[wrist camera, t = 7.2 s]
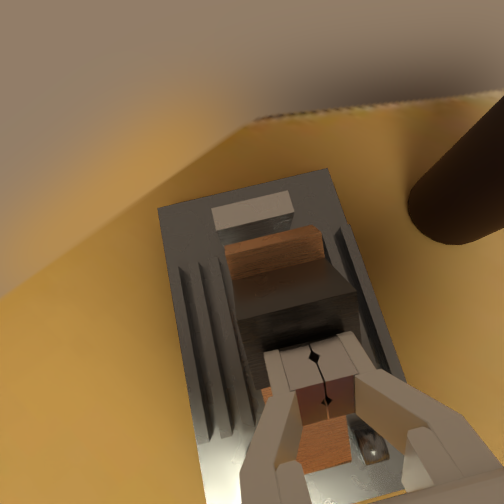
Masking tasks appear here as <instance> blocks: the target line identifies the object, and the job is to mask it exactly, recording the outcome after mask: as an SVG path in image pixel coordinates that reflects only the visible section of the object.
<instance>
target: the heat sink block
mask: <svg viewBox="0 0 504 504" xmlns="http://www.w3.org/2000/svg"><path fill="white" fill-rule="evenodd" d="M157 209H158V215H159V221H160V227H161V233H162V239H163V245H164V251H165V257H166V263H167V269H168V275H169V281H170V287H171V293H172V299H173V305H174V311H175V317H176V323H177V329H178V335H179V341H180V347H181V353H182V359H183V365H184V371H185V377H186V383H187V389H188V395H189V401H190V407H191V413H192V419H193V425H194V431H195V437H196V443H197V449H198V455H199V461H200V467H201V473H202V479H203V485H204V491H205V497H206V503H207V504H242V503H241V491H240V479H239V472H240V469H241V466H242V464H243V461H244V459H245V456H246V454H247V451H248V448H249V446H250V443H251V441H252V438H253V436H254V433H255V430H256V428H257V425H258V423H259V420H260V418H261V415H262V412H263V410H264V407H265V402H264V399H263V395H262V391H261V389H260V390H256V389H255V385H254V382H253V378H252V375H251V371H250V367H249V364H248V360H247V356H246V353H245V349H244V346H243V342H242V338H241V335H240V331H239V327H238V324H237V319H236V311H235V302H234V294H233V285H232V279H231V275H230V271H229V268H228V264H227V260H226V256H225V247H224V246H226V245H230V244H234V243H238V242H242V241H246V240H251V239H255V238H259V237H263V236H267V235H271V234H275V233H279V232H284V231H288V230H292V229H296V228H300V227H304V226H308V225H313V226H315V227H316V228H317V229H318V230H319V231H321V233H322V241H323V248H324V256H325V258H326V259H327V261H328V262H329V263H330V264H331V265H332V266H333V267H334V268H335V269H336V270H337V271H338V272H339V273H340V274H341V275H342V276H343V277H344V278H345V279H346V280H347V281H348V282H349V283H350V284H351V285H352V286H353V287H354V288H355V289H356V291H357V299H358V309H359V320H360V330H361V341H362V348H363V349H364V351H365V352H366V354H367V355H368V357H369V359H370V360H371V362H372V363H373V365H374V367H375V368H376V370H377V369H382V370H384V371H386V372H388V373H389V374H391V375H393V376H395V377H396V378H398V379H400V380H402V381H403V382H405V383H407V382H406V379H405V376H404V373H403V370H402V368H401V365H400V362H399V359H398V357H397V354H396V351H395V348H394V346H393V343H392V340H391V337H390V334H389V332H388V329H387V326H386V323H385V321H384V318H383V315H382V312H381V310H380V307H379V304H378V301H377V298H376V296H375V293H374V290H373V287H372V285H371V282H370V279H369V276H368V274H367V271H366V268H365V265H364V262H363V260H362V257H361V254H360V251H359V249H358V246H357V243H356V240H355V237H354V235H353V232H352V229H351V226H350V224H349V225H348V224H347V221H346V218H345V215H344V213H343V210H342V207H341V204H340V201H339V199H338V196H337V193H336V190H335V188H334V185H333V182H332V179H331V176H330V174H329V171H328V168H326V169H321V170H317V171H313V172H309V173H304V174H300V175H296V176H292V177H288V178H283V179H279V180H275V181H271V182H266V183H262V184H258V185H254V186H249V187H245V188H241V189H237V190H232V191H228V192H224V193H220V194H215V195H211V196H207V197H203V198H198V199H194V200H190V201H186V202H181V203H177V204H173V205H169V206H165V207H160V208H157ZM346 420H347V427H348V435H349V442H350V450H351V457H352V462H350V463H346V464H343V465H339V466H335V467H332V468H328V469H324V470H321V471H317V472H313V473H310V474H306V475H304V476H305V479H306V483H307V487H308V491H309V494H310V498H311V502H312V504H352V503H356V502H360V501H363V500H367V499H371V498H374V497H378V496H381V495H385V494H389V493H392V492H396V491H400V490H403V489H405V488H404V486H403V484H402V482H401V479H402V471H403V464H404V455H403V454H402V453H401V452H399V451H398V450H397V449H396V448H395V447H394V446H392V445H391V444H390V443H389V442H388V441H387V440H385V439H384V438H383V437H382V436H381V435H380V434H378V433H377V432H376V431H375V430H374V429H373V428H371V427H370V426H369V425H368V424H367V423H366V422H364V421H363V420H362V419H361V418H360V417H359V416H357V415H356V413H352V414H347V415H346Z"/></svg>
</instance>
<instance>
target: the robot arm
mask: <svg viewBox="0 0 504 504" xmlns="http://www.w3.org/2000/svg"><path fill="white" fill-rule="evenodd" d="M264 359H265V364H266V368H267V373H268V377H269V382H270V386H271V391H272V395H273V396H272V397H268V400H267V402H266V405H265V407H264V410H263V412H262V415H261V418H260V420H259V423H258V425H257V428H256V430H255V433H254V436H253V438H252V441H251V443H250V446H249V448H248V451H247V454H246V456H245V459H244V461H243V464H242V466H241V469H240V472H239V479H240V491H241V503H242V504H312V502H311V498H310V494H309V491H308V487H307V483H306V479H305V476H304V472H303V468H302V465H301V464H300V463H299V462H297V461H296V457H297V453H298V448H299V444H300V439H301V435H302V430H303V426H306V425H309V424H312V423H316V422H319V421H323V420H326V419H328V417H327V414H328V416H329V419H330V418H334V417H339V416H343V415H347V414H352V413H356V415H357V416H359V417H360V418H361V419H362V420H363V421H364V422H366V423H367V424H368V425H369V426H370V427H371V428H373V429H374V430H375V431H376V432H377V433H378V434H380V435H381V436H382V437H383V438H384V439H385V440H387V441H388V442H389V443H390V444H391V445H392V446H394V447H395V448H396V449H397V450H398V451H399V452H401V453H402V454H403V455H404V464H403V471H402V479H401V482H402V484H403V486H404V488H405V490H406V492H407V493H406V494H402V495H398V496H395V497H391V498H387V499H383V500H380V501H376V502H372V503H369V504H504V467H503V466H502V464H501V463H500V462H499V461H498V459H497V458H496V457H495V456H494V454H493V453H492V452H491V451H490V449H489V448H488V447H487V446H486V444H485V443H484V442H483V441H482V439H481V438H480V437H479V436H478V434H477V433H476V432H475V431H474V429H473V428H472V427H471V426H470V424H469V423H468V422H467V421H466V419H465V418H464V417H463V416H462V415H461V414H459V413H457V412H456V411H454V410H452V409H451V408H449V407H447V406H445V405H444V404H442V403H440V402H438V401H437V400H435V399H433V398H431V397H430V396H428V395H426V394H424V393H423V392H421V391H419V390H417V389H416V388H414V387H412V386H410V385H409V384H407V383H405V382H403V381H402V380H400V379H398V378H396V377H395V376H393V375H391V374H389V373H388V372H386V371H384V370H382V369H377V370H376V368H375V367H374V365H373V363H372V362H371V360H370V359H369V357H368V355H367V354H366V352H365V351H364V349H363V348H362V346H361V344H360V343H359V341H358V340H357V338H356V336H355V335H354V333H353V332H351V331H348V332H344V333H340V334H336V335H332V336H328V337H324V338H320V339H316V340H313V341H309V342H308V344H307V343H302V344H298V345H293V346H289V347H284V348H280V349H276V350H272V351H268V352H264Z"/></svg>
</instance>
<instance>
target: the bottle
mask: <svg viewBox="0 0 504 504" xmlns="http://www.w3.org/2000/svg"><path fill="white" fill-rule="evenodd" d="M408 205H409V213H410V215H411V217H412V220H413V222H414V224H415V225H416V226H417V227H418V228H419V229H420V231H421V232H422V233H423V234H425V235H426V236H428V237H429V238H431V239H433V240H434V241H437V242H441V243H444V244H449V245H462V244H466V243H469V242H473V241H475V240H478V239H480V238H482V237H484V236H487V235H489V234H491V233H493V232H496V231H498V230H500V229H502V228H504V96H503V97H502V98H501V99H500V100H499V101H498V102H497V103H496V104H495V105H494V106H493V107H492V108H491V109H490V110H489V111H488V112H487V113H486V114H485V115H484V116H483V117H482V118H481V119H480V120H479V121H478V122H477V123H476V124H475V125H474V126H473V127H472V128H471V129H470V130H469V131H468V132H467V133H466V134H465V135H464V136H463V137H462V138H461V139H460V140H459V141H458V142H457V143H456V144H455V145H454V146H453V147H452V148H451V149H450V150H449V151H448V152H447V153H446V154H445V155H444V156H443V157H442V158H441V159H440V160H439V161H438V162H437V163H436V164H435V165H434V166H433V167H432V168H431V169H430V170H429V171H428V172H427V173H426V174H425V175H424V176H423V177H422V178H421V179H420V180H419V181H418V182H417V183H416V184H415V186H414V187H413V188H412V190H411V193H410V197H409V200H408Z"/></svg>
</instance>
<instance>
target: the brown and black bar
mask: <svg viewBox="0 0 504 504" xmlns="http://www.w3.org/2000/svg"><path fill="white" fill-rule="evenodd" d="M224 247H225V256H226V260H227V264H228V268H229V271H230V275H231V279H232V285H233V294H234V302H235V311H236V319H237V324H238V327H239V331H240V335H241V338H242V342H243V346H244V349H245V353H246V356H247V360H248V364H249V367H250V371H251V375H252V378H253V382H254V385H255V389H256V390H260V389H261V391H262V395H263V399H264V402H265V405H266V402H267V400H268V397H272V396H273V395H272V391H271V386H270V382H269V377H268V373H267V368H266V364H265V359H264V352H268V351H272V350H276V349H280V348H284V347H289V346H293V345H298V344H302V343H307V344H308V342H309V341H313V340H316V339H320V338H324V337H328V336H332V335H336V334H340V333H344V332H348V331H351V332H353V333H354V335H355V336H356V338H357V340H358V341H359V343H360V344H361V346H362V341H361V330H360V320H359V309H358V299H357V291H356V289H355V288H354V287H353V286H352V285H351V284H350V283H349V282H348V281H347V280H346V279H345V278H344V277H343V276H342V275H341V274H340V273H339V272H338V271H337V270H336V269H335V268H334V267H333V266H332V265H331V264H330V263H329V262H328V261H327V259H326V258H325V256H324V248H323V241H322V233H321V231H319V230H318V229H317V228H316V227H315V226H313V225H308V226H304V227H300V228H296V229H292V230H288V231H284V232H279V233H275V234H271V235H267V236H263V237H259V238H255V239H251V240H246V241H242V242H238V243H234V244H230V245H226V246H224ZM327 417H328V419H326V420H323V421H319V422H316V423H312V424H309V425H306V426H303V430H302V435H301V439H300V444H299V448H298V453H297V457H296V461H297V462H299V463H300V464H301V465H302V468H303V472H304V475H306V474H310V473H313V472H317V471H321V470H324V469H328V468H332V467H335V466H339V465H343V464H346V463H350V462H352V457H351V450H350V442H349V435H348V427H347V420H346V415H343V416H339V417H334V418H330V419H329V416H328V414H327Z"/></svg>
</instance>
